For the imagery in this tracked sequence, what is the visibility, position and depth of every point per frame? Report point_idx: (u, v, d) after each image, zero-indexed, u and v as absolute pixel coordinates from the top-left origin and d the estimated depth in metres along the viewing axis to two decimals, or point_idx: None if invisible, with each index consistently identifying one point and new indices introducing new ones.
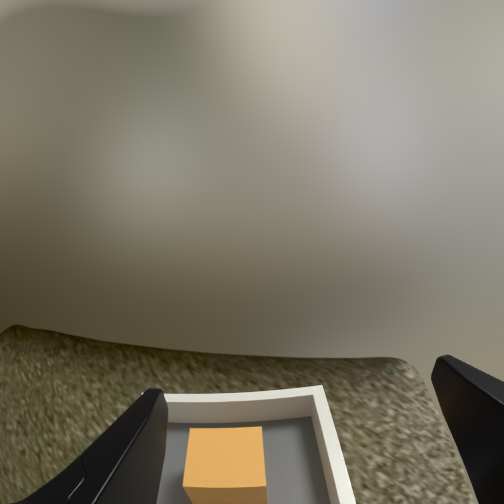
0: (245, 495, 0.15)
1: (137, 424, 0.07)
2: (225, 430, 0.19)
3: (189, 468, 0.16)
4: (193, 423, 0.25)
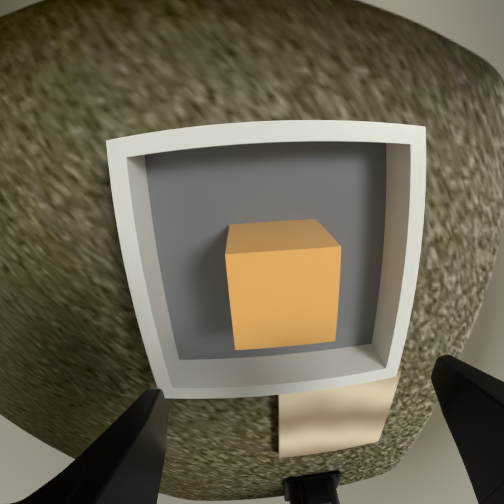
0: None
1: (137, 424, 0.07)
2: (284, 254, 0.13)
3: (239, 325, 0.14)
4: (201, 147, 0.16)
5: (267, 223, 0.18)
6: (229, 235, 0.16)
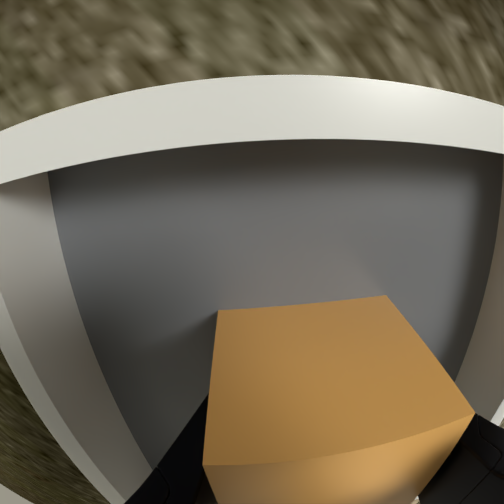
0: None
1: None
2: (355, 455, 0.04)
3: None
4: (153, 150, 0.07)
5: (296, 311, 0.08)
6: (216, 360, 0.07)
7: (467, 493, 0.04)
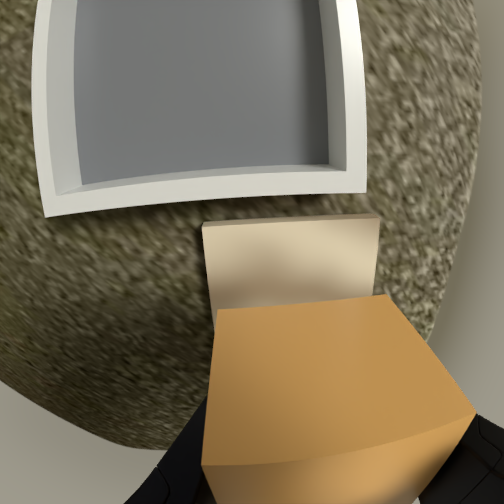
0: None
1: None
2: (356, 456, 0.04)
3: None
4: None
5: (295, 310, 0.08)
6: (215, 359, 0.07)
7: (467, 493, 0.04)
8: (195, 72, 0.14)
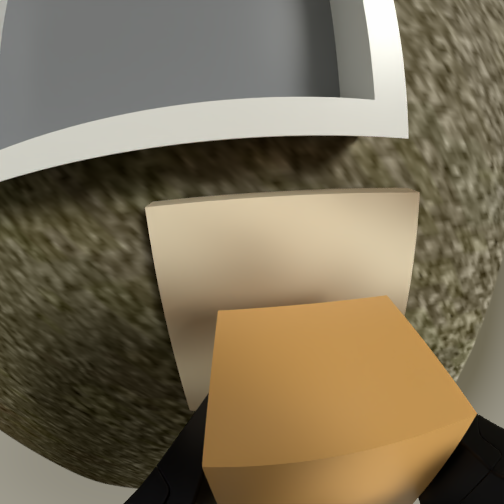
0: None
1: None
2: (356, 457, 0.04)
3: None
4: None
5: (296, 311, 0.08)
6: (215, 361, 0.07)
7: (467, 493, 0.04)
8: None
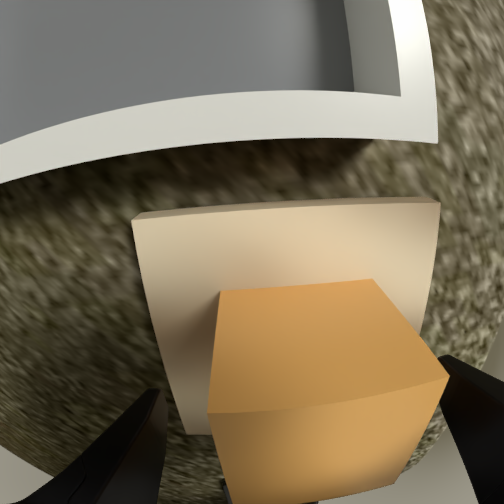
0: None
1: (137, 424, 0.07)
2: (340, 408, 0.05)
3: (240, 491, 0.06)
4: None
5: (289, 291, 0.10)
6: (218, 330, 0.08)
7: None
8: None
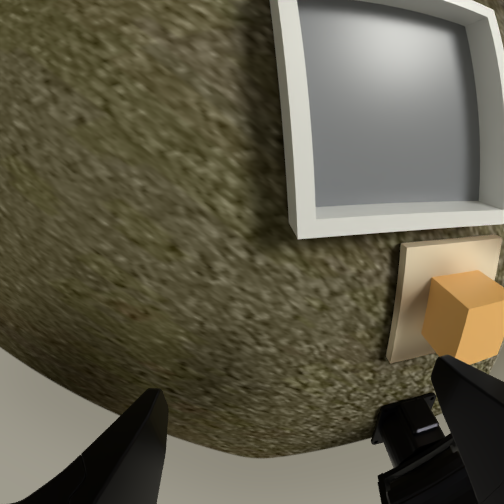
0: None
1: (137, 424, 0.07)
2: (493, 305, 0.16)
3: (459, 354, 0.17)
4: None
5: (455, 275, 0.20)
6: (447, 290, 0.18)
7: None
8: (407, 122, 0.17)
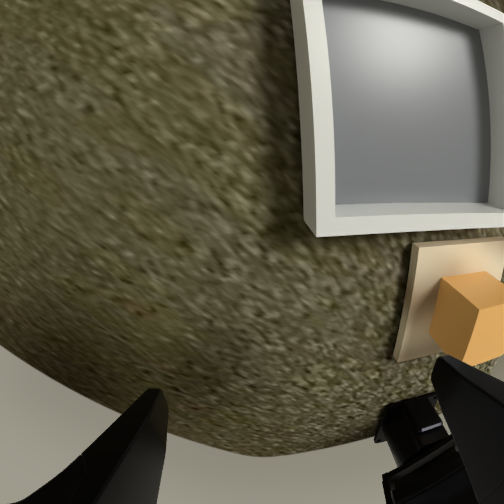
0: None
1: (137, 424, 0.07)
2: (502, 306, 0.15)
3: (468, 353, 0.17)
4: None
5: (464, 276, 0.20)
6: (458, 290, 0.18)
7: None
8: (422, 123, 0.17)
